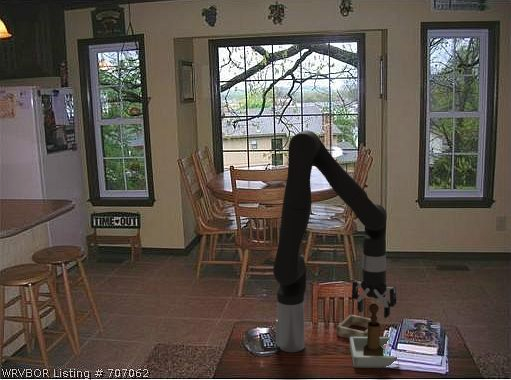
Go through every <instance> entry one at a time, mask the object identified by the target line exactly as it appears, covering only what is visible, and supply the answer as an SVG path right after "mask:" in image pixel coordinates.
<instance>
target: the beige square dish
mask: <svg viewBox="0 0 511 380" xmlns="http://www.w3.org/2000/svg"><path fill="white" fill-rule="evenodd" d="M368 322H371V319H370V317H366V316H365V317H364V316H359V315H355V314H348V316H347V317H346V318H345V319H344V320H342V322H340V323H339V324H338V325H337V326H336V336H337V337H341V338H346V339H349V340H350V337H368ZM377 322H378V323H379V320H378V319H377ZM350 326H356V327H361V328H365V330H364V331H363V330H358V329H353V328H350Z"/></svg>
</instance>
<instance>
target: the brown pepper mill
mask: <svg viewBox="0 0 511 380" xmlns="http://www.w3.org/2000/svg"><path fill="white" fill-rule="evenodd" d="M368 310H369V311H370V314H371V315H370V317H369V318H370V319H371V322H368V341H367V345H366V346H364V348H363V355H364V356H383V348H382V347H381V346H380V337H381V334H380V333H381V323H380V322H379V321H378V322H377V320H378V316H377V313H378V312H379V306H378V304H377V303H371V304H369V307H368Z"/></svg>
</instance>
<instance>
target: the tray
mask: <svg viewBox="0 0 511 380" xmlns="http://www.w3.org/2000/svg"><path fill="white" fill-rule="evenodd" d="M390 337H391V336H380V346H382V345H384V344H386V343H387V341H388V340H389V341H390ZM367 341H368V337H350V339H349V349H350V354H351V359H352V364H353V368H358V369H359V368H363V369H364V368H367V369H369V368H370V369H372V368H373V369H384V368H383V367H386V366H389V365H391V364H392V363H393V362H394V361H395V360H396V359H397V357H394V356H364V355H363V348H364V346H366V345H367Z"/></svg>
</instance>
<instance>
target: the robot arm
mask: <svg viewBox="0 0 511 380" xmlns="http://www.w3.org/2000/svg"><path fill="white" fill-rule="evenodd" d="M288 142H289V143H288V149H287V150H288V153H287V154H288V155H287V157H288V162H287V179H286V183H285V188H284V193H283V200H282V205H281V206H282V208H281V217H280V218H281V219H280V226H279V236H278V237H279V238H278V247H277V249H276V254H275V258H274V263H273V269H272V273H273V277H274V279H275V280H276V282H277V283H278V284H279V288H278V289H277V293H276V302H277V303H276V305H277V308H276V309H277V319H276V320H275V323H274V324H275V325H274V326H275V345H276V344H277V345H279V347H280V349H279V350H280V351H282V352H286V353H298V352H300V351H303V350H304V349H305V347H306V346H305V345H306V344H305V343H306V341H305V340H306V339H305V337H306V335H305V294H306V290H307V265H306V261H305V259H304V257H303V256H302V255H301V254H300V248H301V244H302V241H303V239H304V236H305V234H306V231H307V229H308V225H309V222H310V219H311V218H310V215H311V209H312V188H311V177H312V176H311V175H312V169H313V166H314V167H315V168H316V169H317V170H318V171H319V172H320V173H321V174H322V176H323V177H324V178H325V180H326V181H327V183H328V184H329V186H330V188H331V189H332V190H333V192H334V193H336V195H337V196H338V197H339V198H340V199H341V200H342V201H343V202H344V203H345V204H346V205H347V206H348V207H349V209H351V211H352V212H353V213H354V215H355V216H356V217H357V219H358V220H359V222H360V223H361V224H362V225H363V226H364V236H363V243H362V248H363V249H362V259H361V263H362V264H361V268H362V269H361V271H362V273H361V281H359V279H355V280H354V281H353V282H352V286H351V287H352V289H351V298H352V299H353V300H355V301H356V302H357V305H356V306H357V308H356V309H357V311H358V313H362V312H363V311H364V298H365V297H366V296H367V297H368V298H373V299H379V301H380V302H381V303H382V304H383V306H384V308H383V318H384V319H387V318H388V317H389V316H390V315H391V308H394V307H395V306H396V304H397V288H396V286H395V285H394V286H387V255H386V254H387V252H386V247H387V244H386V243H387V242H386V232H387V217H388V216H387V211H386V209H385V208H384V207H383V206H382V205H380V204H377V203H376V204H375V203H374V202H372V200H371V199H370V198H369V196H368V194H367V192H366V191H365V189H363V188H362V187H361V185H359V183H358V182H357V181H356V180H355V179H354V178H353V177H352V176H350V174H349V173H348V172H347V171H346V170H345V169H344V168H343V167H342V166H341V165H340V164H339V162H338V161H336V159H335V158H334V157H333V155H332V154H331V153H330V152H329V150H328V149H327V148H326V146H325V144H324V142H322V141H321V139H320V137H319V135H317V133H315V132H313V131H312V130H311V131H310V130H303V131H299V132H298V133H296V134H294V135H293V136H292V137H291V138H290V140H289V141H288ZM359 288H361V289H362V291H363V292H362V293H360V295H359ZM386 292H387V293H388V295H389V298H388V295H387V293H386ZM279 347H278V348H279Z"/></svg>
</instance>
